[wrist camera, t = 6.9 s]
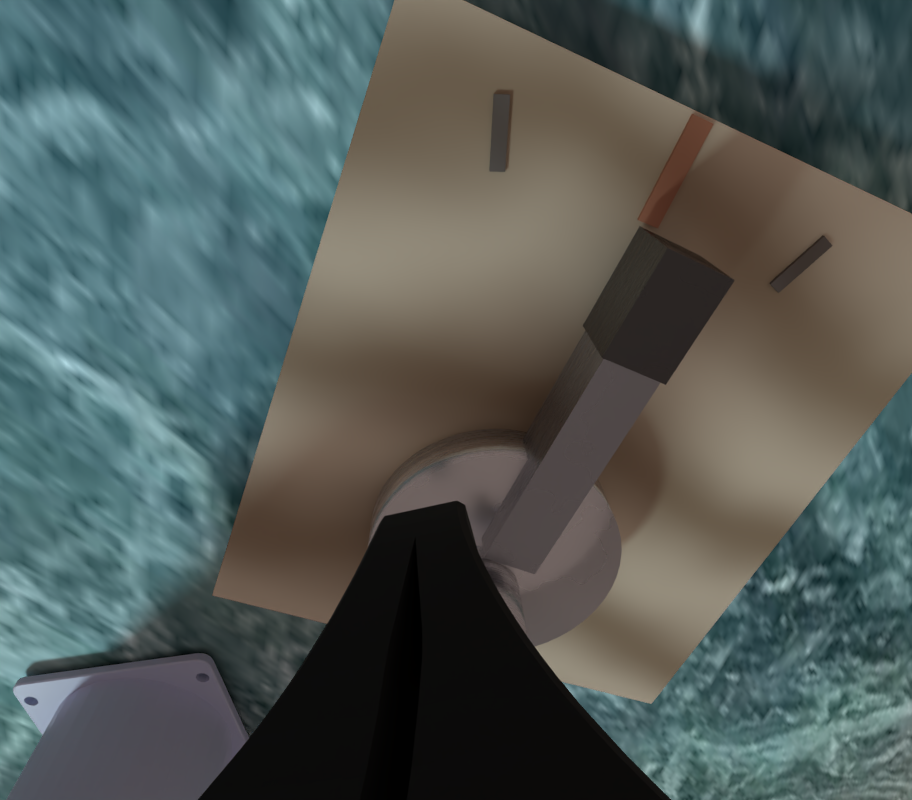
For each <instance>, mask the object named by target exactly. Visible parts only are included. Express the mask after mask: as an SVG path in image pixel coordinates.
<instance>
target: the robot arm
mask: <svg viewBox="0 0 912 800" xmlns="http://www.w3.org/2000/svg"><path fill="white" fill-rule="evenodd" d="M203 673H204V674H203ZM13 692H14V694H15V696H16V697H17V699H18V700H19V702H20V703H21V704H22V706H23V707H24V709H25V710H26V712H27V713H28V715H29V716H30V717H31V719H32V720H33V722H34V723H35V725H36V726H37V728H38V729H39V730H40V732H41V733H42V737H41V739H40V741H39V742H38V744H37V746H36V748H35V750H34V751H33V753H32V755H31V757H30V758H29V760H28V762H27V764H26V766H25V767H24V769H23V771H22V773H21V774H20V776H19V778H18V780H17V782H16V783H15V785H14V787H13V789H12V790H11V792H10V794H9V796H8V797H7V799H6V800H671V799H670V798H669V797H668V796H667V795H666V794H665V793H664V792H663V791H662V790H661V789H660V788H659V787H658V786H657V785H656V784H655V783H654V782H653V781H652V780H651V779H650V778H649V777H648V776H647V775H646V774H645V773H644V772H643V771H642V770H641V769H640V768H639V767H638V766H637V765H636V764H635V763H634V762H633V761H632V760H631V759H630V758H629V757H628V756H627V755H626V754H625V753H624V752H623V751H622V750H621V749H620V748H619V747H618V746H617V744H616V743H615V742H614V741H613V740H612V739H611V738H610V737H609V736H608V735H607V733H606V732H605V731H604V730H603V729H602V728H601V727H600V726H599V725H598V724H597V722H596V721H595V720H594V719H593V718H592V717H591V716H590V715H589V714H588V713H587V711H586V710H585V709H584V708H583V707H582V706H581V705H580V704H579V703H578V701H577V700H576V699H575V698H574V697H573V695H572V694H571V693H570V692H569V690H568V689H567V688H566V687H565V685H564V684H563V683H562V682H561V681H560V679H559V678H558V677H557V676H556V674H555V673H554V672H553V670H552V669H551V668H550V667H549V665H548V664H547V663H546V661H545V660H544V659H543V657H542V656H541V655H540V653H539V652H538V651H537V649H536V648H535V646H534V645H533V644H532V642H531V641H530V639H529V638H528V637H527V635H526V634H525V632H524V631H523V629H522V628H521V626H520V625H519V623H518V622H517V620H516V619H515V617H514V615H513V614H512V612H511V611H510V609H509V608H508V606H507V604H506V603H505V601H504V599H503V598H502V596H501V594H500V593H499V591H498V589H497V587H496V586H495V584H494V582H493V580H492V578H491V576H490V574H489V572H488V571H487V569H486V567H485V565H484V563H483V561H482V559H481V557H480V555H479V552H478V549H477V546H476V542H475V539H474V535H473V531H472V528H471V524H470V520H469V517H468V513H467V510H466V506H465V505H464V504H463V503H461V502H459V501H452V502H447V503H443V504H438V505H433V506H429V507H424V508H419V509H415V510H410V511H405V512H401V513H396V514H391V515H387V516H384V517H383V519H382V520H381V522H380V523H379V525H378V527H377V529H376V532H375V534H374V536H373V538H372V540H371V542H370V544H369V546H368V548H367V550H366V552H365V554H364V556H363V558H362V560H361V562H360V564H359V566H358V568H357V570H356V572H355V574H354V576H353V578H352V580H351V582H350V584H349V585H348V587H347V589H346V591H345V593H344V594H343V596H342V598H341V600H340V602H339V604H338V605H337V607H336V609H335V611H334V613H333V615H332V616H331V618H330V620H329V621H328V623H327V625H326V627H325V628H324V630H323V631H322V633H321V635H320V636H319V638H318V639H317V641H316V643H315V644H314V646H313V648H312V649H311V651H310V652H309V654H308V656H307V657H306V659H305V660H304V662H303V664H302V665H301V667H300V668H299V670H298V671H297V673H296V674H295V676H294V677H293V679H292V680H291V682H290V683H289V685H288V686H287V688H286V689H285V690H284V692H283V693H282V695H281V696H280V698H279V699H278V700H277V702H276V703H275V705H274V706H273V707H272V709H271V710H270V711H269V713H268V714H267V715H266V717H265V718H264V719H263V721H262V722H261V724H260V725H259V726H258V728H257V729H256V730H255V731H254V733H253V734H252V735H251V736H250V738H249V737H248V734H247V732H246V730H245V728H244V726H243V724H242V721H241V719H240V717H239V715H238V713H237V710H236V708H235V706H234V704H233V702H232V700H231V697H230V695H229V693H228V691H227V689H226V686H225V684H224V682H223V680H222V678H221V676H220V673H219V671H218V669H217V667H216V665H215V663H214V660H213V659H212V658H211V657H210V656H209V655H207V654H204V653H195V654H188V655H181V656H173V657H166V658H159V659H151V660H144V661H137V662H130V663H122V664H115V665H108V666H100V667H93V668H86V669H79V670H71V671H64V672H57V673H49V674H42V675H35V676H28V677H23V678H20V679H19V680H18V681H17V682H16V684H15V686H14V687H13Z"/></svg>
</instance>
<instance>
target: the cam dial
mask: <svg viewBox="0 0 912 800" xmlns="http://www.w3.org/2000/svg"><path fill="white" fill-rule="evenodd" d="M734 281H735V280H734V279H733V278H731V277H730V276H728V275H727V274H726V273H724V272H723V271H721V270H720V269H719V268H717V267H716V266H714V265H713V264H712V263H710V262H709V261H707V260H706V259H705V258H703V257H702V256H700V255H698V254H696V253H694V252H692V251H690V250H688V249H686V248H684V247H682V246H680V245H678V244H676V243H674V242H672V241H669V240H667V239H665V238H663V237H661V236H659V235H657V234H655V233H653V232H651V231H649V230H647V229H645V228H643V227H640V226H639V228H638V230H637V232H636V233H635V235H634V237H633V239H632V240H631V242H630V244H629V246H628V247H627V249H626V251H625V253H624V254H623V256H622V258H621V260H620V261H619V263H618V265H617V267H616V268H615V270H614V272H613V274H612V275H611V277H610V279H609V281H608V282H607V284H606V286H605V287H604V289H603V291H602V293H601V294H600V296H599V298H598V300H597V301H596V303H595V305H594V307H593V308H592V310H591V312H590V314H589V315H588V317H587V319H586V321H585V322H584V324H583V327H584V329H585V332H584V334H583V335H582V337H581V339H580V341H579V342H578V344H577V346H576V348H575V349H574V351H573V353H572V354H571V356H570V358H569V360H568V361H567V363H566V365H565V367H564V368H563V370H562V372H561V374H560V375H559V377H558V379H557V381H556V382H555V384H554V386H553V387H552V389H551V391H550V393H549V394H548V396H547V398H546V400H545V401H544V403H543V405H542V407H541V408H540V410H539V412H538V414H537V415H536V417H535V419H534V420H533V422H532V424H531V426H530V427H529V429H528V431H527V432H524V431H518V430H509V429H484V430H476V431H469V432H464V433H460V434H457V435H453V436H450V437H447V438H444V439H442V440H439V441H437V442H434V443H432V444H430V445H429V446H427V447H425V448H423V449H421V450H420V451H418V452H417V453H415V454H414V455H412V456H411V457H410V458H408V459H407V460H406V461H405V462H404V463H403V464H401V465H400V466H399V467H398V468H397V469H396V470H395V471H394V473H393V474H392V475H391V476H390V478H389V479H388V480H387V481H386V483H385V484H384V486H383V488H382V490H381V491H380V493H379V495H378V498H377V500H376V503H375V505H374V509H373V513H372V518H371V526H370V534H369V543H368V546H369V544H370V542H371V540H372V538H373V536H374V534H375V532H376V529H377V527H378V525H379V523H380V522H381V520H382V519H383V517H384V516H387V515H391V514H396V513H401V512H405V511H410V510H415V509H419V508H424V507H429V506H433V505H438V504H443V503H447V502H452V501H459V502H461V503H463V504H464V505H465V506H466V510H467V513H468V517H469V520H470V524H471V528H472V531H473V535H474V539H475V542H476V546H477V549H478V552H479V555H480V557H481V559H482V561H483V563H484V565H485V567H486V569H487V571H488V572H489V574H490V576H491V578H492V580H493V582H494V584H495V586H496V587H497V589H498V591H499V593H500V594H501V596H502V598H503V599H504V601H505V603H506V604H507V606H508V608H509V609H510V611H511V612H512V614H513V615H514V617H515V619H516V620H517V622H518V623H519V625H520V626H521V628H522V629H523V631H524V632H525V634H526V635H527V637H528V638H529V639H530V641H531V642H532V644H533V645H534V646H538V645H541V644H544V643H547V642H549V641H551V640H553V639H555V638H558V637H560V636H562V635H563V634H565V633H567V632H568V631H570V630H572V629H573V628H575V627H576V626H578V625H579V624H580V623H582V622H583V621H584V620H585V619H587V618H588V617H589V616H590V615H591V614H592V613H593V612H594V611H595V610H596V609H597V608H598V606H599V605H600V604H601V603H602V602H603V600H604V599H605V598H606V596H607V594H608V593H609V591H610V590H611V588H612V586H613V584H614V581H615V579H616V577H617V574H618V570H619V567H620V561H621V553H622V548H621V537H620V532H619V528H618V525H617V522H616V520H615V517H614V515H613V512H612V510H611V508H610V505H609V503H608V500H607V498H606V496H605V493H604V491H603V489H602V486H601V484H600V482H599V480H598V477H599V476H600V474H601V473H602V471H603V470H604V468H605V467H606V465H607V464H608V462H609V461H610V459H611V458H612V456H613V455H614V453H615V451H616V450H617V448H618V447H619V445H620V444H621V442H622V441H623V439H624V438H625V436H626V435H627V433H628V432H629V430H630V429H631V427H632V426H633V424H634V423H635V421H636V419H637V418H638V416H639V415H640V413H641V412H642V410H643V409H644V407H645V406H646V404H647V403H648V401H649V400H650V398H651V397H652V395H653V394H654V392H655V390H656V389H657V387H658V386H659V384H660V383H663V384H665V385H666V384H667V382H668V381H669V379H670V378H671V376H672V375H673V373H674V372H675V370H676V369H677V367H678V366H679V364H680V363H681V361H682V360H683V358H684V357H685V355H686V354H687V352H688V350H689V349H690V347H691V346H692V344H693V343H694V341H695V340H696V338H697V337H698V335H699V334H700V332H701V331H702V329H703V328H704V326H705V325H706V323H707V322H708V320H709V319H710V317H711V316H712V314H713V313H714V311H715V310H716V308H717V307H718V305H719V304H720V302H721V301H722V299H723V298H724V296H725V295H726V293H727V291H728V290H729V288H730V287H731V285H732V284H733V282H734Z"/></svg>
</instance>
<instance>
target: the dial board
mask: <svg viewBox="0 0 912 800" xmlns="http://www.w3.org/2000/svg"><path fill="white" fill-rule="evenodd" d="M639 226H640V227H643V228H645V229H647V230H649V231H651V232H653V233H655V234H657V235H659V236H661V237H663V238H665V239H667V240H669V241H672V242H674V243H676V244H678V245H680V246H682V247H684V248H686V249H688V250H690V251H692V252H694V253H696V254H698V255H700V256H702V257H703V258H705V259H706V260H707V261H709V262H710V263H712V264H713V265H714V266H716V267H717V268H719V269H720V270H721V271H723V272H724V273H726V274H727V275H728V276H730V277H731V278H733V279H734V280H735V281H734V282H733V284H732V285H731V287H730V288H729V290H728V291H727V293H726V295H725V296H724V298H723V299H722V301H721V302H720V304H719V305H718V307H717V308H716V310H715V311H714V313H713V314H712V316H711V317H710V319H709V320H708V322H707V323H706V325H705V326H704V328H703V329H702V331H701V332H700V334H699V335H698V337H697V338H696V340H695V341H694V343H693V344H692V346H691V347H690V349H689V350H688V352H687V354H686V355H685V357H684V358H683V360H682V361H681V363H680V364H679V366H678V367H677V369H676V370H675V372H674V373H673V375H672V376H671V378H670V379H669V381H668V382H667V384H666V385H665V384H663V383H660V384H659V386H658V387H657V389H656V390H655V392H654V394H653V395H652V397H651V398H650V400H649V401H648V403H647V404H646V406H645V407H644V409H643V410H642V412H641V413H640V415H639V416H638V418H637V419H636V421H635V423H634V424H633V426H632V427H631V429H630V430H629V432H628V433H627V435H626V436H625V438H624V439H623V441H622V442H621V444H620V445H619V447H618V448H617V450H616V451H615V453H614V455H613V456H612V458H611V459H610V461H609V462H608V464H607V465H606V467H605V468H604V470H603V471H602V473H601V474H600V476H599V477H598V480H599V482H600V484H601V486H602V489H603V491H604V493H605V496H606V498H607V500H608V503H609V505H610V508H611V510H612V512H613V515H614V517H615V520H616V522H617V525H618V528H619V532H620V537H621V548H622V553H621V561H620V567H619V570H618V574H617V577H616V579H615V581H614V584H613V586H612V588H611V590H610V591H609V593H608V594H607V596H606V598H605V599H604V600H603V602H602V603H601V604H600V605H599V606H598V608H597V609H596V610H595V611H594V612H593V613H592V614H591V615H590V616H589V617H588V618H587V619H585V620H584V621H583V622H582V623H580V624H579V625H578V626H576V627H575V628H573V629H572V630H570V631H568V632H567V633H565V634H563V635H562V636H560V637H558V638H555V639H553V640H551V641H549V642H547V643H544V644H541V645H538V646H535V648H536V649H537V651H538V652H539V653H540V655H541V656H542V657H543V659H544V660H545V661H546V663H547V664H548V665H549V667H550V668H551V669H552V670H553V672H554V673H555V674H556V676H557V677H558V678H559V679H560V681H561V682H565V683H569V684H573V685H577V686H581V687H585V688H589V689H593V690H597V691H601V692H605V693H610V694H614V695H618V696H622V697H626V698H630V699H634V700H638V701H642V702H646V703H650V704H652V702H653V701H654V700H655V699H656V697H657V696H658V695H659V694H660V692H661V691H662V690H663V688H664V687H665V686H666V685H667V683H668V682H669V681H670V680H671V678H672V677H673V676H674V674H675V673H676V672H677V671H678V669H679V668H680V667H681V666H682V664H683V663H684V662H685V660H686V659H687V658H688V657H689V655H690V654H691V653H692V652H693V650H694V649H695V648H696V646H697V645H698V644H699V643H700V641H701V640H702V639H703V638H704V636H705V635H706V634H707V632H708V631H709V630H710V629H711V627H712V626H713V625H714V624H715V622H716V621H717V620H718V618H719V617H720V616H721V615H722V613H723V612H724V611H725V610H726V608H727V607H728V606H729V604H730V603H731V602H732V601H733V599H734V598H735V597H736V596H737V594H738V593H739V592H740V590H741V589H742V588H743V587H744V585H745V584H746V583H747V582H748V580H749V579H750V578H751V576H752V575H753V574H754V573H755V571H756V570H757V569H758V568H759V566H760V565H761V564H762V562H763V561H764V560H765V559H766V557H767V556H768V555H769V554H770V552H771V551H772V550H773V548H774V547H775V546H776V545H777V543H778V542H779V541H780V540H781V538H782V537H783V536H784V534H785V533H786V532H787V531H788V529H789V528H790V527H791V526H792V524H793V523H794V522H795V520H796V519H797V518H798V517H799V515H800V514H801V513H802V512H803V510H804V509H805V508H806V507H807V505H808V504H809V503H810V501H811V500H812V499H813V498H814V496H815V495H816V494H817V493H818V491H819V490H820V489H821V487H822V486H823V485H824V484H825V482H826V481H827V480H828V479H829V477H830V476H831V475H832V473H833V472H834V471H835V470H836V468H837V467H838V466H839V465H840V463H841V462H842V461H843V459H844V458H845V457H846V456H847V454H848V453H849V452H850V451H851V449H852V448H853V447H854V445H855V444H856V443H857V442H858V440H859V439H860V438H861V437H862V435H863V434H864V433H865V431H866V430H867V429H868V428H869V426H870V425H871V424H872V423H873V421H874V420H875V419H876V417H877V416H878V415H879V414H880V412H881V411H882V410H883V409H884V407H885V406H886V405H887V403H888V402H889V401H890V400H891V398H892V397H893V396H894V395H895V393H896V392H897V391H898V389H899V388H900V387H901V386H902V384H903V383H904V382H905V381H906V379H907V378H908V377H909V375H910V374H911V373H912V213H909V212H907V211H905V210H903V209H901V208H899V207H897V206H895V205H893V204H891V203H888V202H886V201H884V200H882V199H880V198H878V197H876V196H874V195H872V194H870V193H867V192H865V191H863V190H861V189H859V188H857V187H855V186H853V185H851V184H849V183H846V182H844V181H842V180H840V179H838V178H836V177H834V176H832V175H830V174H828V173H825V172H823V171H821V170H819V169H817V168H815V167H813V166H811V165H809V164H807V163H804V162H802V161H800V160H798V159H796V158H794V157H792V156H790V155H788V154H785V153H783V152H781V151H779V150H777V149H775V148H773V147H771V146H769V145H767V144H764V143H762V142H760V141H758V140H756V139H754V138H752V137H750V136H748V135H746V134H743V133H741V132H739V131H737V130H735V129H733V128H731V127H729V126H727V125H725V124H722V123H720V122H718V121H716V120H714V119H712V118H710V117H708V116H706V115H704V114H701V113H699V112H697V111H695V110H693V109H691V108H689V107H687V106H685V105H683V104H680V103H678V102H676V101H674V100H672V99H670V98H668V97H666V96H664V95H661V94H659V93H657V92H655V91H653V90H651V89H649V88H647V87H645V86H643V85H640V84H638V83H636V82H634V81H632V80H630V79H628V78H626V77H624V76H622V75H619V74H617V73H615V72H613V71H611V70H609V69H607V68H605V67H603V66H601V65H598V64H596V63H594V62H592V61H590V60H588V59H586V58H584V57H582V56H580V55H577V54H575V53H573V52H571V51H569V50H567V49H565V48H563V47H561V46H559V45H556V44H554V43H552V42H550V41H548V40H546V39H544V38H542V37H540V36H537V35H535V34H533V33H531V32H529V31H527V30H525V29H523V28H521V27H519V26H516V25H514V24H512V23H510V22H508V21H506V20H504V19H502V18H500V17H498V16H495V15H493V14H491V13H489V12H487V11H485V10H483V9H481V8H479V7H477V6H474V5H472V4H470V3H468V2H466V1H464V0H395V1H394V4H393V7H392V10H391V14H390V17H389V20H388V23H387V27H386V30H385V33H384V37H383V40H382V43H381V46H380V50H379V53H378V56H377V59H376V63H375V66H374V69H373V72H372V76H371V79H370V82H369V85H368V89H367V92H366V95H365V99H364V102H363V105H362V108H361V112H360V115H359V118H358V121H357V125H356V128H355V131H354V134H353V138H352V141H351V144H350V147H349V151H348V154H347V157H346V160H345V164H344V167H343V170H342V174H341V177H340V180H339V183H338V187H337V190H336V193H335V196H334V200H333V203H332V206H331V209H330V213H329V216H328V219H327V222H326V226H325V229H324V232H323V235H322V239H321V242H320V245H319V249H318V252H317V255H316V258H315V262H314V265H313V268H312V271H311V275H310V278H309V281H308V284H307V288H306V291H305V294H304V297H303V301H302V304H301V307H300V310H299V314H298V317H297V320H296V324H295V327H294V330H293V333H292V337H291V340H290V343H289V346H288V350H287V353H286V356H285V359H284V363H283V366H282V369H281V372H280V376H279V379H278V382H277V386H276V389H275V392H274V395H273V399H272V402H271V405H270V408H269V412H268V415H267V418H266V421H265V425H264V428H263V431H262V434H261V438H260V441H259V444H258V447H257V451H256V454H255V457H254V461H253V464H252V467H251V470H250V474H249V477H248V480H247V483H246V487H245V490H244V493H243V496H242V500H241V503H240V506H239V509H238V513H237V516H236V519H235V522H234V526H233V529H232V532H231V536H230V539H229V542H228V545H227V549H226V552H225V555H224V558H223V562H222V565H221V568H220V571H219V575H218V578H217V581H216V584H215V588H214V591H213V594H212V596H216V597H220V598H224V599H229V600H233V601H237V602H241V603H245V604H249V605H253V606H257V607H261V608H265V609H269V610H273V611H277V612H281V613H285V614H289V615H293V616H297V617H301V618H306V619H310V620H314V621H318V622H322V623H326V624H327V623H328V621H329V620H330V618H331V616H332V615H333V613H334V611H335V609H336V607H337V605H338V604H339V602H340V600H341V598H342V596H343V594H344V593H345V591H346V589H347V587H348V585H349V584H350V582H351V580H352V578H353V576H354V574H355V572H356V570H357V568H358V566H359V564H360V562H361V560H362V558H363V556H364V554H365V552H366V550H367V548H368V543H369V534H370V526H371V518H372V513H373V509H374V505H375V503H376V500H377V498H378V495H379V493H380V491H381V490H382V488H383V486H384V484H385V483H386V481H387V480H388V479H389V478H390V476H391V475H392V474H393V473H394V471H395V470H396V469H397V468H398V467H399V466H400V465H401V464H403V463H404V462H405V461H406V460H407V459H408V458H410V457H411V456H412V455H414V454H415V453H417V452H418V451H420V450H421V449H423V448H425V447H427V446H429V445H430V444H432V443H434V442H437V441H439V440H442V439H444V438H447V437H450V436H453V435H457V434H460V433H464V432H469V431H476V430H484V429H509V430H518V431H524V432H527V431H528V429H529V427H530V426H531V424H532V422H533V420H534V419H535V417H536V415H537V414H538V412H539V410H540V408H541V407H542V405H543V403H544V401H545V400H546V398H547V396H548V394H549V393H550V391H551V389H552V387H553V386H554V384H555V382H556V381H557V379H558V377H559V375H560V374H561V372H562V370H563V368H564V367H565V365H566V363H567V361H568V360H569V358H570V356H571V354H572V353H573V351H574V349H575V348H576V346H577V344H578V342H579V341H580V339H581V337H582V335H583V334H584V332H585V329H584V327H583V324H584V322H585V321H586V319H587V317H588V315H589V314H590V312H591V310H592V308H593V307H594V305H595V303H596V301H597V300H598V298H599V296H600V294H601V293H602V291H603V289H604V287H605V286H606V284H607V282H608V281H609V279H610V277H611V275H612V274H613V272H614V270H615V268H616V267H617V265H618V263H619V261H620V260H621V258H622V256H623V254H624V253H625V251H626V249H627V247H628V246H629V244H630V242H631V240H632V239H633V237H634V235H635V233H636V232H637V230H638V228H639Z"/></svg>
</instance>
